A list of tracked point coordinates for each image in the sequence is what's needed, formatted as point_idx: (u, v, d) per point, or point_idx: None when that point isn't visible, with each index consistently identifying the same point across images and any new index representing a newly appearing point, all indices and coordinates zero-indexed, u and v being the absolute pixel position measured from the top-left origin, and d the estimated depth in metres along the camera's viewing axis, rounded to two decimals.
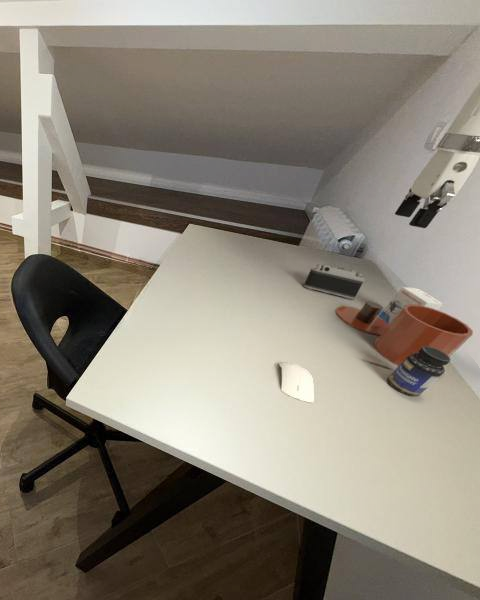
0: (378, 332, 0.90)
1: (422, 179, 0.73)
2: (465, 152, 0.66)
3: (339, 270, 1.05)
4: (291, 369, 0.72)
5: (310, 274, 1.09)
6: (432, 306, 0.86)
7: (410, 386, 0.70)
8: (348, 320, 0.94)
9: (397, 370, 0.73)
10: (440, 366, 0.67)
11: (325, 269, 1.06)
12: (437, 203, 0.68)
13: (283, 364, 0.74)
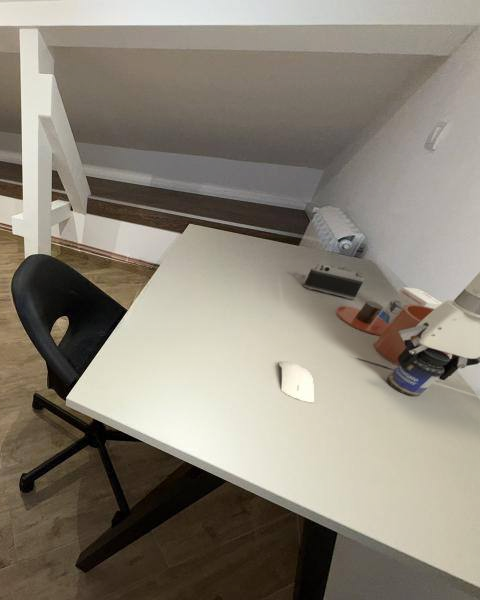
0: (378, 332, 0.90)
1: (454, 340, 0.63)
2: None
3: (339, 270, 1.05)
4: (291, 369, 0.72)
5: (310, 274, 1.09)
6: (432, 306, 0.86)
7: (410, 386, 0.70)
8: (348, 320, 0.94)
9: (397, 370, 0.73)
10: (440, 366, 0.67)
11: (325, 269, 1.06)
12: None
13: (283, 364, 0.74)
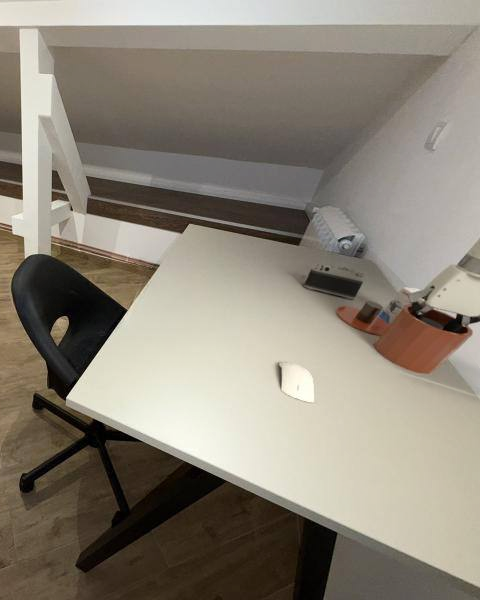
0: (378, 332, 0.90)
1: (458, 300, 0.71)
2: None
3: (339, 270, 1.05)
4: (291, 369, 0.72)
5: (310, 274, 1.09)
6: None
7: None
8: (348, 320, 0.94)
9: None
10: None
11: (325, 269, 1.06)
12: None
13: (283, 364, 0.74)
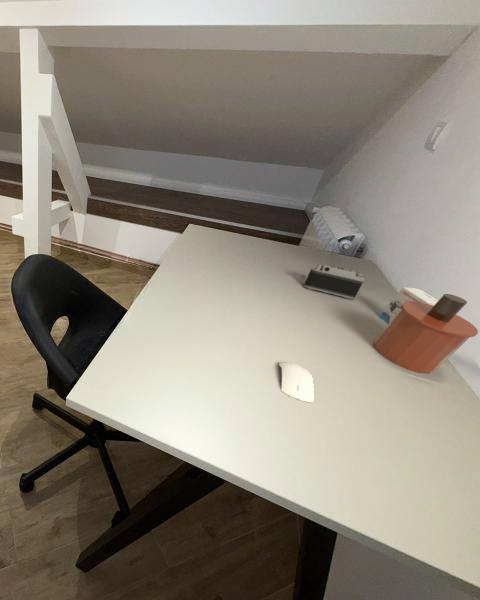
0: (463, 333, 0.71)
1: None
2: None
3: (339, 270, 1.05)
4: (291, 369, 0.72)
5: (310, 274, 1.09)
6: None
7: None
8: (420, 318, 0.74)
9: None
10: None
11: (325, 269, 1.06)
12: None
13: (283, 364, 0.74)
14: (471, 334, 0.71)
